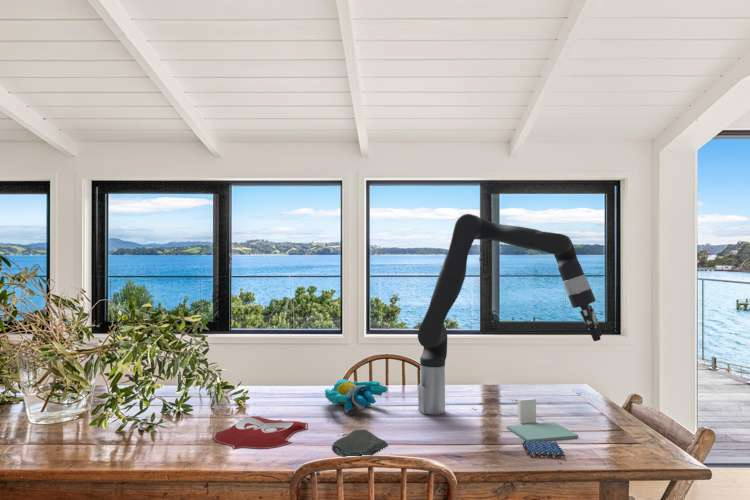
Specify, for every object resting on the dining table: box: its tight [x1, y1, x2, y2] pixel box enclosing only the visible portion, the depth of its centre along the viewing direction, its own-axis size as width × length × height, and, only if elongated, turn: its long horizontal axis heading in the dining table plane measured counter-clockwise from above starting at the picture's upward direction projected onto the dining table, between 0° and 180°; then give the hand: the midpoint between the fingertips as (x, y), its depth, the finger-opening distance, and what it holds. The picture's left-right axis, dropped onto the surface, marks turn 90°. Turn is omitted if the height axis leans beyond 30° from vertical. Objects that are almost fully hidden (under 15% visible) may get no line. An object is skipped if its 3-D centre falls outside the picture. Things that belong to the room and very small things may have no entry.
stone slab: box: [331, 429, 389, 457], centre depth 155 cm, size 24×17×2 cm
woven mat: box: [521, 440, 566, 460], centre depth 151 cm, size 10×11×2 cm
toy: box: [324, 378, 388, 414], centre depth 193 cm, size 22×12×25 cm
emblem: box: [212, 415, 309, 450], centre depth 165 cm, size 29×3×30 cm
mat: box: [506, 421, 579, 442], centre depth 167 cm, size 18×13×1 cm
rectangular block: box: [517, 397, 537, 425], centre depth 178 cm, size 6×2×8 cm, turn 103°
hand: (598, 338), depth 165 cm, fingers open, 8 cm apart
